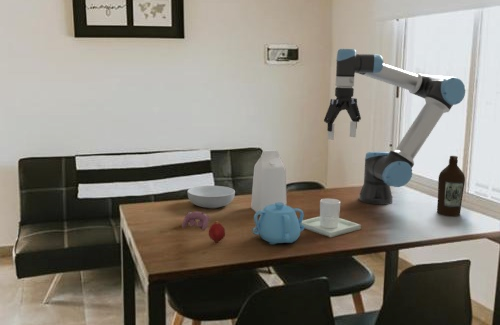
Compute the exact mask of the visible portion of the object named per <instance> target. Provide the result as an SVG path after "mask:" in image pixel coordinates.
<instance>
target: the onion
mask: <svg viewBox="0 0 500 325" xmlns="http://www.w3.org/2000/svg"><path fill="white" fill-rule="evenodd" d="M208 236H209V238H210V240H212V241H213V242H214V243H216V244H217V243H219V242H221V241H222V240H223V239H224V238H225V236H226V229H225V227H224V226H223V225H222V224H221V223H220V222H219V221H218V220H217V221H214V223H213V224H211V225H210V227H209V229H208Z"/></svg>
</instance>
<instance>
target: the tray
mask: <svg viewBox="0 0 500 325" xmlns="http://www.w3.org/2000/svg"><path fill="white" fill-rule="evenodd" d="M320 220H321V219H320V216H316V217H312V218H308V219H303V220H302V223H301V224H303V225H304V230H305V229H306V230H308V231H311V232H314V233H317V234H320V235H321V236H325V237H328V238H334V237H337V236H340V235H344V234H348V233H352V232H356V231H359V230H361V227H362V224H360V223H356V222H353V221H350V220H347V219H344V218H340V217H339V220H338V227H337V228H324V227H322V226H320ZM300 228H302V226H300Z"/></svg>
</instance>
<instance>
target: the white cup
mask: <svg viewBox="0 0 500 325" xmlns="http://www.w3.org/2000/svg"><path fill="white" fill-rule="evenodd" d="M341 203H342V202H341V200H339V199H336V198H321V199H320V200H319V217H320V219H321V220H320V226H322V227H324V228H337V227H338V220H339V218H340V214H341V212H340V211H341Z"/></svg>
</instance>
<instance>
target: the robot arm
mask: <svg viewBox="0 0 500 325" xmlns="http://www.w3.org/2000/svg"><path fill="white" fill-rule="evenodd" d="M336 53H337V54H336V59H335V60H336V61H335V62H336V69H335V70H336V73H335V88H334V97H336V98H335V99H334V98H330V102H329V106H328V108H327V111H326V114H325V116H324V119H323V122H324V123H326V124H327V140H332V141H333V140H334V139H335V125H336V124H335V123H334V122H335V121H336V119H337V117H338V115H339V114H340V113H341V111H345V110H346V112H347V114H348V116H349V117H350V119H351V121H350V122H349V125H350V126H349V137H351V138H357V137H356V136H357V129H358V128H357V127H358V126H357V125H358V123H359V122H360V121H361V119H362V116H361V114H360V110H359V105H358V99H357V98H353V97H354V91H355V90H354V86H355V76H356V75H355V74H359V75H362V76H366V77H369V78H370V79H374V80H377V81H380V82H383V83H386V84H389V85H393V86H395V87H397V88H398V87H399V88H402V89H404V90H408V91H409V93H410V94H412V95H416V96H417V97H420V98H422V99H424V100H425V104H424V106H423V107H422V108H421V110H420V111H419V113H418V115H417V116H416V117H415V119H414V121H413V122H412V123H411V125H410V127H409V129H408V130H407V132H405V134H404V135H403V137H402V139H401V140H400V142H399V143H398V145H397V147H396V148H395V149H391V150H389V151H367V152H366V153H365V157H364V175H363V185H362V186H361V189H360V192H359V195H358V200H359V201H361V202H363V203H367V204H372V205H388V204H392V203H393V195H392V191H391V187H393V188H400V187H403V186H405V185H407V184H408V183H409V182H410V181H411V179H412V177H413V167H414V165H415V162H414V159H415V157H416V156H417V154H418V153H419V151H420V150H421V148H422V146H423V145H424V143H425V142H426V141H427V139H428V137H429V136H430V135H431V133H432V131H433V129H435V127H436V125H437V123H438V122H439V121H440V119H441V118H442V116H443V115H444V113H445V114H446V113H449V112H450V110H451V109H452V107H453V106H455V105H458V104H460V103H461V102H462V101H463V100H464V98H465V96H466V88H465V84H464V82H463V80H461V79H460V78H459V77H455V76H452V75H448V76H445V75H431V74H423V73H420V72H416V73H413V72H410V71H406V70H403V69H402V68H398V67H395V66H392V65H389V64H385V63H384V59H383V56H382V55H381V54H375V53H374V54H373V53H372V54H369V53H366V54H365V53H363V54H362V53H361V54H359V53H357V50H356V49H354V48H340V49H338V50H337V52H336Z"/></svg>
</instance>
